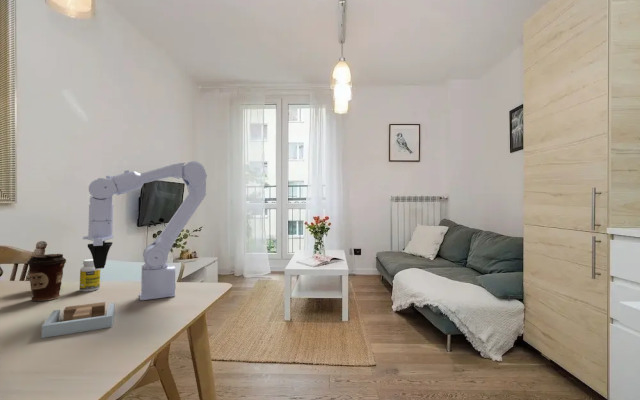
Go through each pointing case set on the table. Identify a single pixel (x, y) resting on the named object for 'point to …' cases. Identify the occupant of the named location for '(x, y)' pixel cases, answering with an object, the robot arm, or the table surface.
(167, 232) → the robot arm
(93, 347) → the table surface
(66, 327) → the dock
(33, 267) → the coffee cup
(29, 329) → the table surface
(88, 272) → the supplement bottle
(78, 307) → the t block
